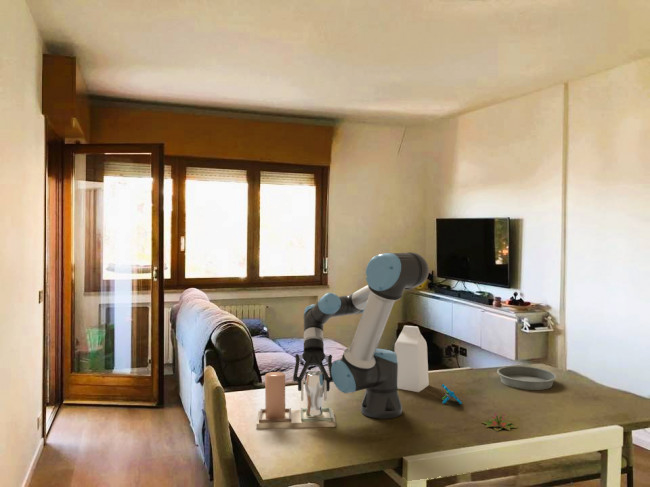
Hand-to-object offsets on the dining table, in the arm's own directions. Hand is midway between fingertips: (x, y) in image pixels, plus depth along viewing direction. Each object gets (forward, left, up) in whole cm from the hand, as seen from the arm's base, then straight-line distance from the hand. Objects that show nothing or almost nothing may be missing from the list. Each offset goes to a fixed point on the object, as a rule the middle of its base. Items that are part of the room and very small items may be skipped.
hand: (313, 398), depth 189 cm
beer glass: (+1, -3, -7) cm, 8 cm away
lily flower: (-58, -27, -9) cm, 65 cm away
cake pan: (-61, -85, -9) cm, 105 cm away
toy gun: (-38, -43, -9) cm, 58 cm away
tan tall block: (+13, +4, -7) cm, 15 cm away
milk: (-17, -57, -9) cm, 61 cm away
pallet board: (+7, +1, -9) cm, 11 cm away
